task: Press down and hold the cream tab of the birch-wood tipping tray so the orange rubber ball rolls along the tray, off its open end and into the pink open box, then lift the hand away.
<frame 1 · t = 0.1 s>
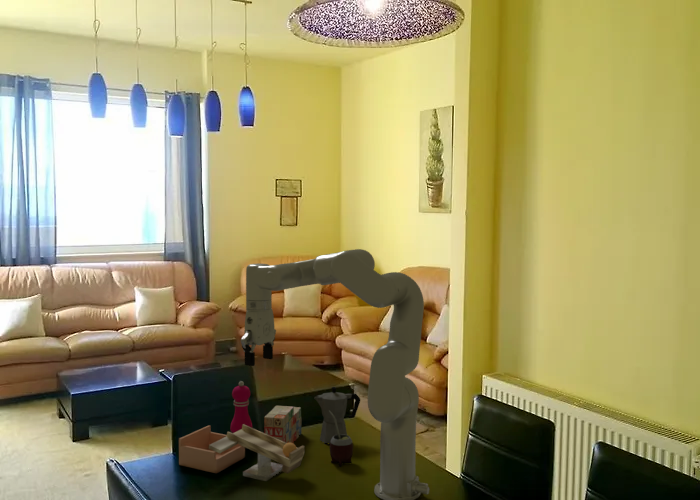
hand: (259, 362, 200), 31 cm above the table, tool pointing down, fingers open, 9 cm apart
pivot stand: (264, 472, 195), on the table
mate gourd: (339, 463, 203), on the table
tipping tray: (257, 450, 191), point 8 cm above the table, hinge at -12.0°, touching ball
coffeepot: (337, 440, 223), on the table
ball: (289, 449, 191), point 8 cm above the table, tilted 19°, touching tipping tray
stack of blocks: (283, 444, 220), on the table
pepper mill: (241, 441, 222), on the table
pink open box: (212, 461, 204), on the table
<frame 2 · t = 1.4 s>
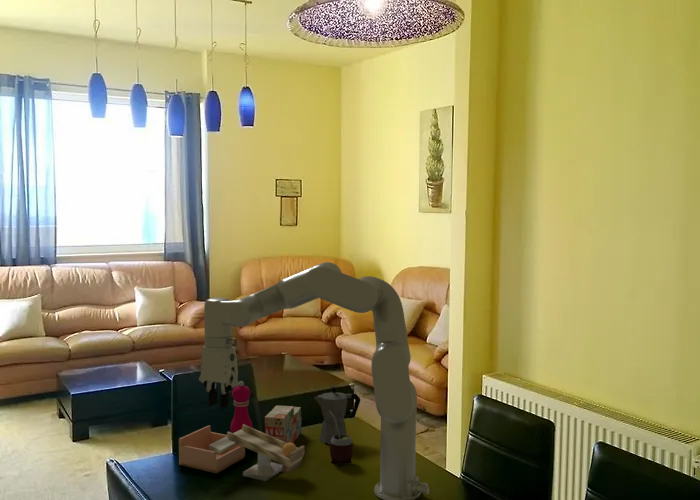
hand: (218, 405, 190), 21 cm above the table, tool pointing down, fingers open, 3 cm apart
nothing on the table moved.
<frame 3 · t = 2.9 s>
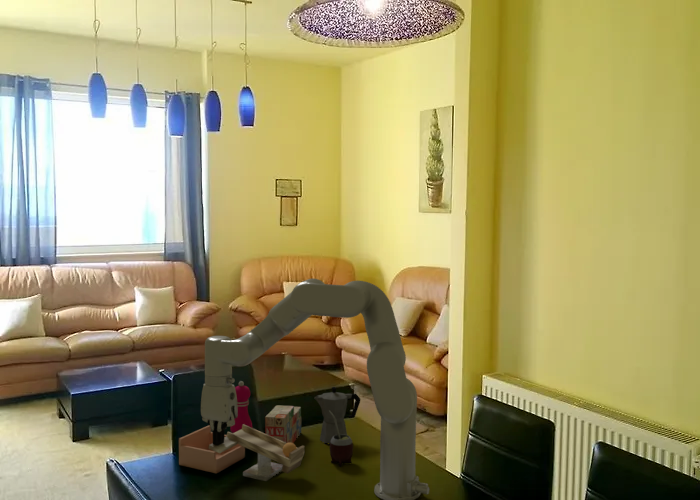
hand: (218, 443, 190), 10 cm above the table, tool pointing down, fingers closed
tipping tray: (257, 450, 191), point 8 cm above the table, hinge at -11.9°, touching ball, gripper
everything else where it was.
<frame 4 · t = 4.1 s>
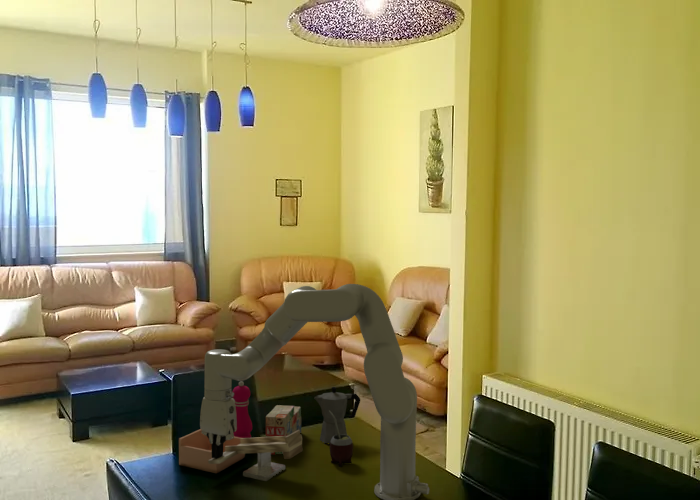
hand: (217, 456, 191), 6 cm above the table, tool pointing down, fingers closed
tipping tray: (255, 449, 191), point 8 cm above the table, hinge at 11.8°, touching gripper
ball: (217, 452, 203), point 3 cm above the table
everything else where it was.
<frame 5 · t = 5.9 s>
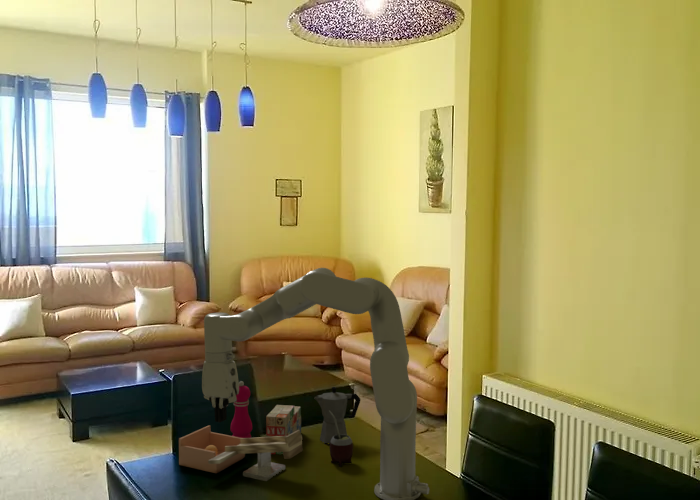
hand: (220, 420, 190), 17 cm above the table, tool pointing down, fingers closed
tipping tray: (255, 449, 191), point 8 cm above the table, hinge at 11.9°
ball: (211, 451, 204), point 3 cm above the table, tilted 145°, touching pink open box
everything else where it was.
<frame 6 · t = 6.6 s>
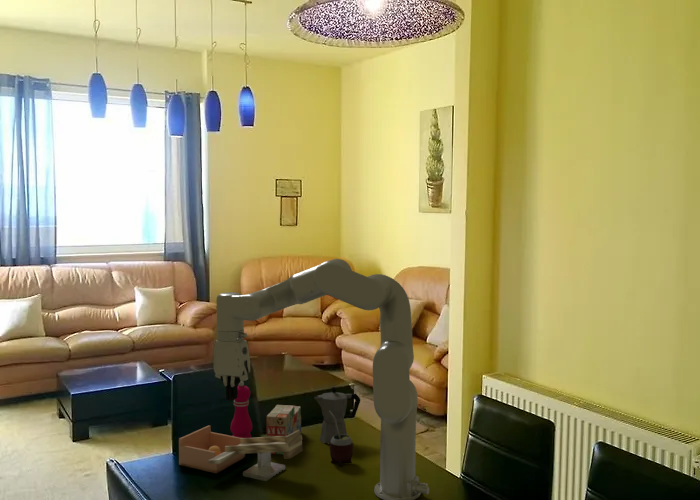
hand: (231, 399, 192), 22 cm above the table, tool pointing down, fingers closed
ball: (214, 452, 203), point 3 cm above the table, tilted 109°, touching pink open box
everything else where it was.
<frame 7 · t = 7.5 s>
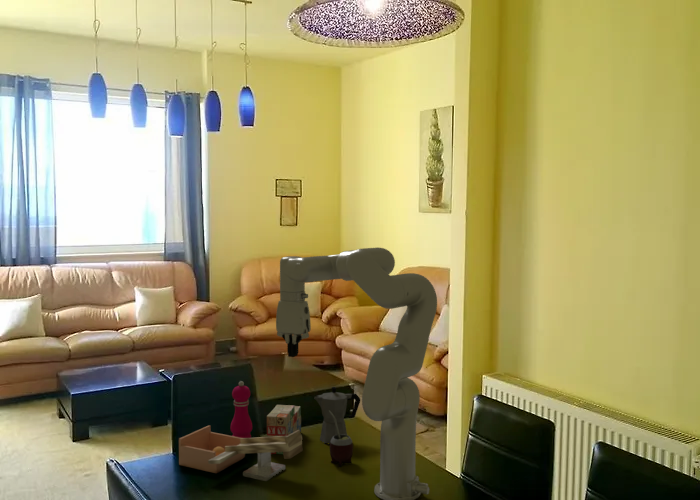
hand: (293, 356, 206), 32 cm above the table, tool pointing down, fingers closed
ball: (218, 453, 203), point 3 cm above the table, tilted 63°, touching pink open box
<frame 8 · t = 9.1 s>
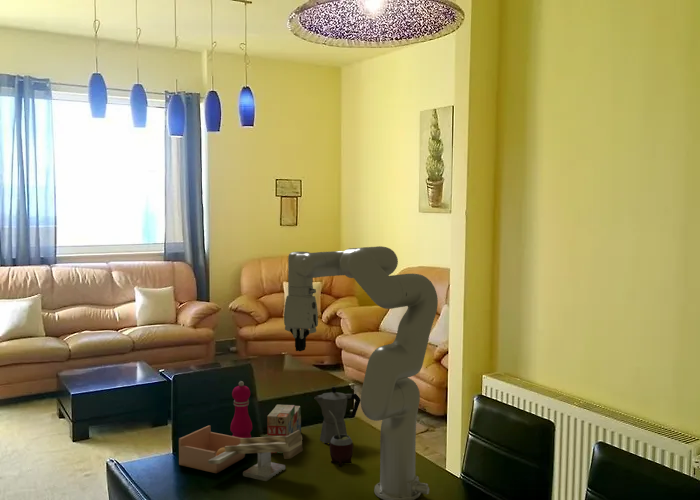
hand: (300, 350, 208), 33 cm above the table, tool pointing down, fingers closed
ball: (223, 454, 202), point 3 cm above the table, tilted 13°, touching pink open box
at the end: ball inside the target area on the pink open box (4.1 cm from its centre), point 2.8 cm above the pink open box's base; ball touching pink open box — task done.
